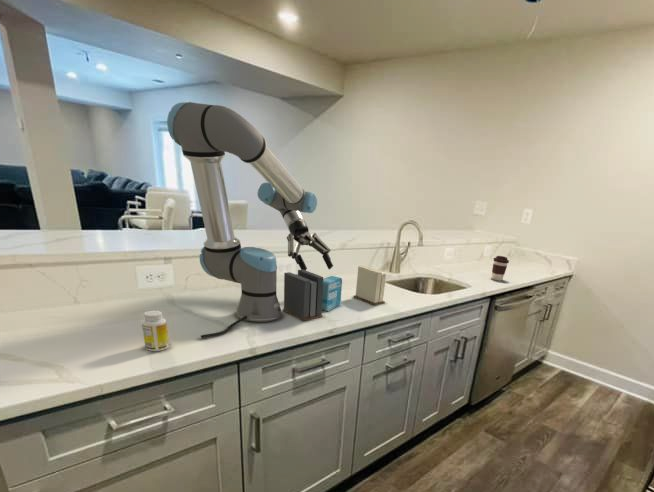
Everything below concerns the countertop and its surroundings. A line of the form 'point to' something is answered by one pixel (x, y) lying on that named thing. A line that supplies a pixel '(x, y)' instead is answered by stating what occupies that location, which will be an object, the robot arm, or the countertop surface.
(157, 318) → the supplement bottle
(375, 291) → the cream books
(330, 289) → the blue box
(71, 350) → the countertop surface
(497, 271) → the coffee cup
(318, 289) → the grey books
